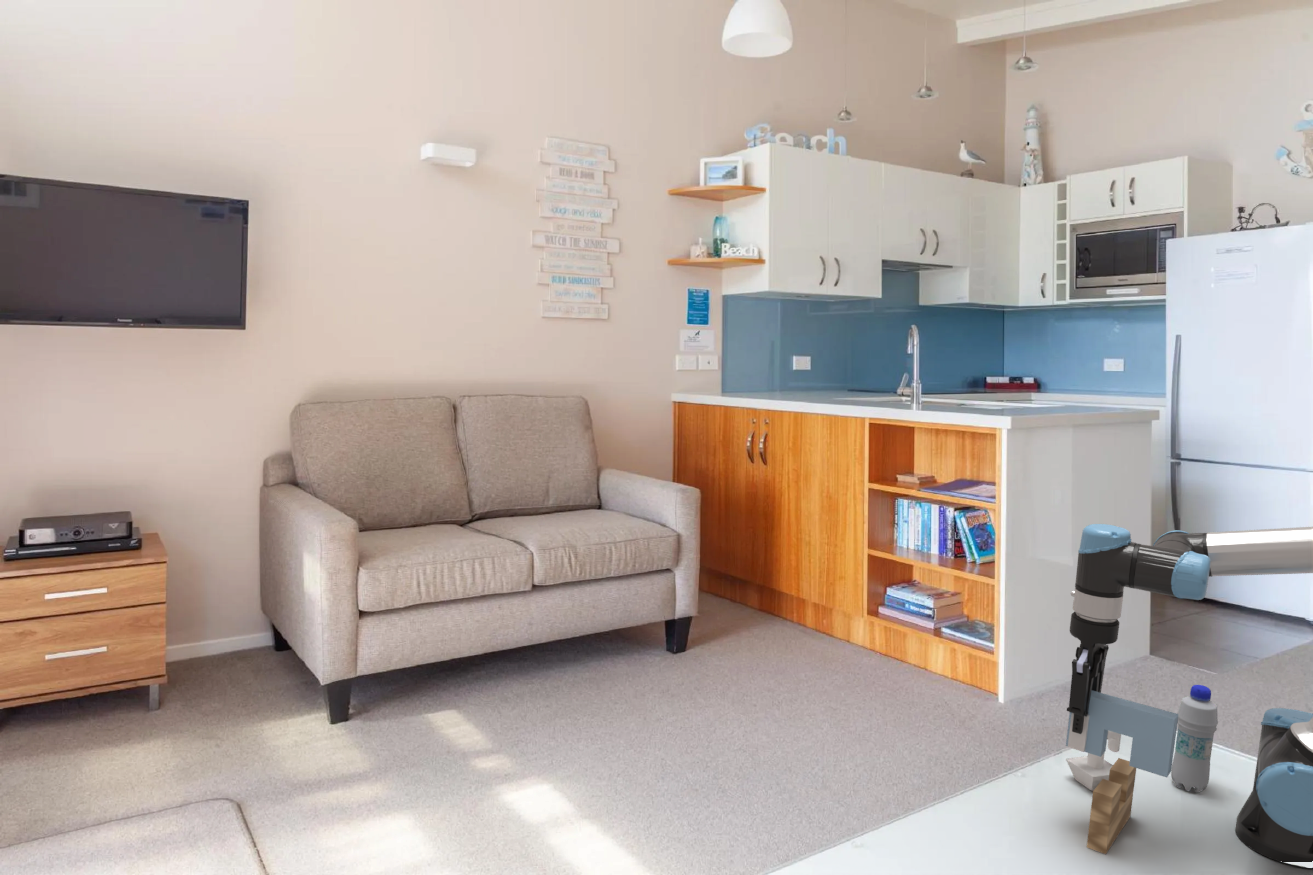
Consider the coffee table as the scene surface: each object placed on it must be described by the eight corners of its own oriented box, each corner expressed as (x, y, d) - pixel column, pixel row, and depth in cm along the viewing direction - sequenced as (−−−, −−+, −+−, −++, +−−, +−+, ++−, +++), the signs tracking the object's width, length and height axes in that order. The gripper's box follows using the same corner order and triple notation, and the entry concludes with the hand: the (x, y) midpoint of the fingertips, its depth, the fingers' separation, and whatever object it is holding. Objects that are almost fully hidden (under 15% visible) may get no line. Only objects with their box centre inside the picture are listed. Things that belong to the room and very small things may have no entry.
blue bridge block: (1171, 770, 162) (1178, 714, 160) (1167, 777, 160) (1174, 719, 158) (1070, 740, 172) (1077, 686, 170) (1065, 745, 170) (1072, 691, 168)
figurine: (1127, 790, 182) (1136, 714, 180) (1085, 796, 180) (1094, 718, 177) (1099, 771, 189) (1107, 698, 187) (1058, 777, 186) (1067, 702, 184)
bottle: (1207, 798, 180) (1221, 696, 177) (1166, 787, 184) (1179, 686, 181) (1209, 784, 186) (1223, 684, 183) (1170, 773, 190) (1183, 675, 187)
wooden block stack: (1130, 816, 173) (1136, 763, 171) (1105, 854, 161) (1112, 797, 159) (1112, 810, 175) (1118, 757, 173) (1086, 847, 162) (1093, 790, 161)
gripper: (1086, 599, 174) (1071, 723, 178) (1058, 620, 162) (1042, 753, 166) (1131, 610, 170) (1114, 737, 173) (1106, 632, 157) (1088, 768, 161)
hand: (1079, 744), depth 169 cm, fingers closed on blue bridge block, 3 cm apart
